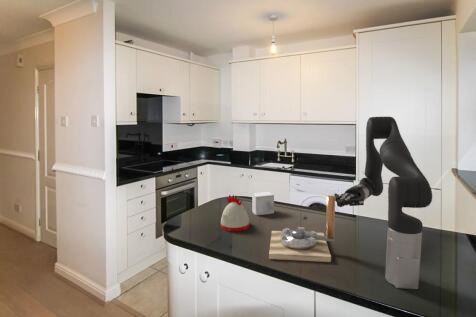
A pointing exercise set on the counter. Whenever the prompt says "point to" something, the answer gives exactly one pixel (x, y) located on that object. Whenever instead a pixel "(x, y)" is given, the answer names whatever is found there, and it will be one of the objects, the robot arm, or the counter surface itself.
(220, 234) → the counter surface
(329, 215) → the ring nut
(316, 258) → the nut base plate
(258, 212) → the skincare box
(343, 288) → the counter surface
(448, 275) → the counter surface
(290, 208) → the counter surface
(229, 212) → the kitchen timer
